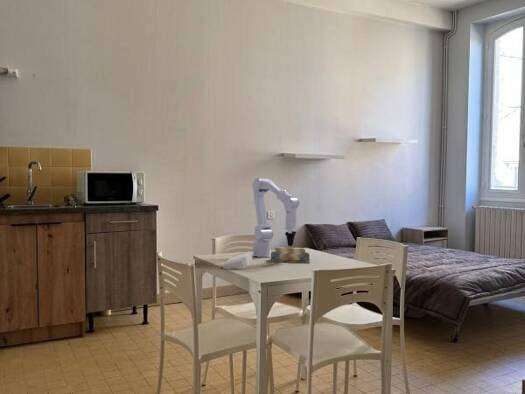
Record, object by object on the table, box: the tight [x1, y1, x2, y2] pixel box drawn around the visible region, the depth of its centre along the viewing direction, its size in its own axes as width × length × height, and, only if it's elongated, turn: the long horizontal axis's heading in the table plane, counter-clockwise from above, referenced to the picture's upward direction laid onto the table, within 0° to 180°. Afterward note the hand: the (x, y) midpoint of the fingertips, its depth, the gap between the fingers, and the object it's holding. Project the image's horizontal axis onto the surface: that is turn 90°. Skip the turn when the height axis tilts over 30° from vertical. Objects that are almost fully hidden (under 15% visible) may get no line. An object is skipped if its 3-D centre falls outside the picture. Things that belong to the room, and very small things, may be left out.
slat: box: [274, 246, 306, 260], centre depth 274 cm, size 16×2×6 cm, turn 83°
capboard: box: [269, 250, 311, 264], centre depth 274 cm, size 21×11×4 cm, turn 83°
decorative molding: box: [221, 250, 254, 270], centre depth 263 cm, size 34×5×10 cm
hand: (290, 245), depth 274 cm, fingers open, 4 cm apart
